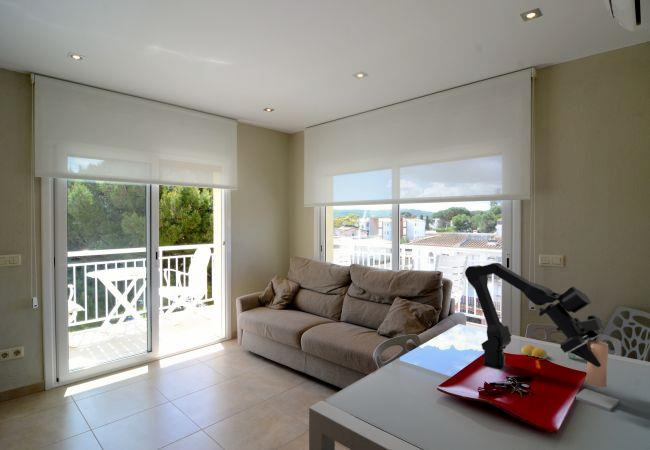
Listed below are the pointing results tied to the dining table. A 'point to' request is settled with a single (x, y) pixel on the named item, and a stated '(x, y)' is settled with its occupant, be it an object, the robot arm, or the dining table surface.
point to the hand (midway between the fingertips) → (602, 364)
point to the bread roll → (534, 351)
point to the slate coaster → (597, 399)
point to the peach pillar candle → (599, 374)
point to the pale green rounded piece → (570, 354)
